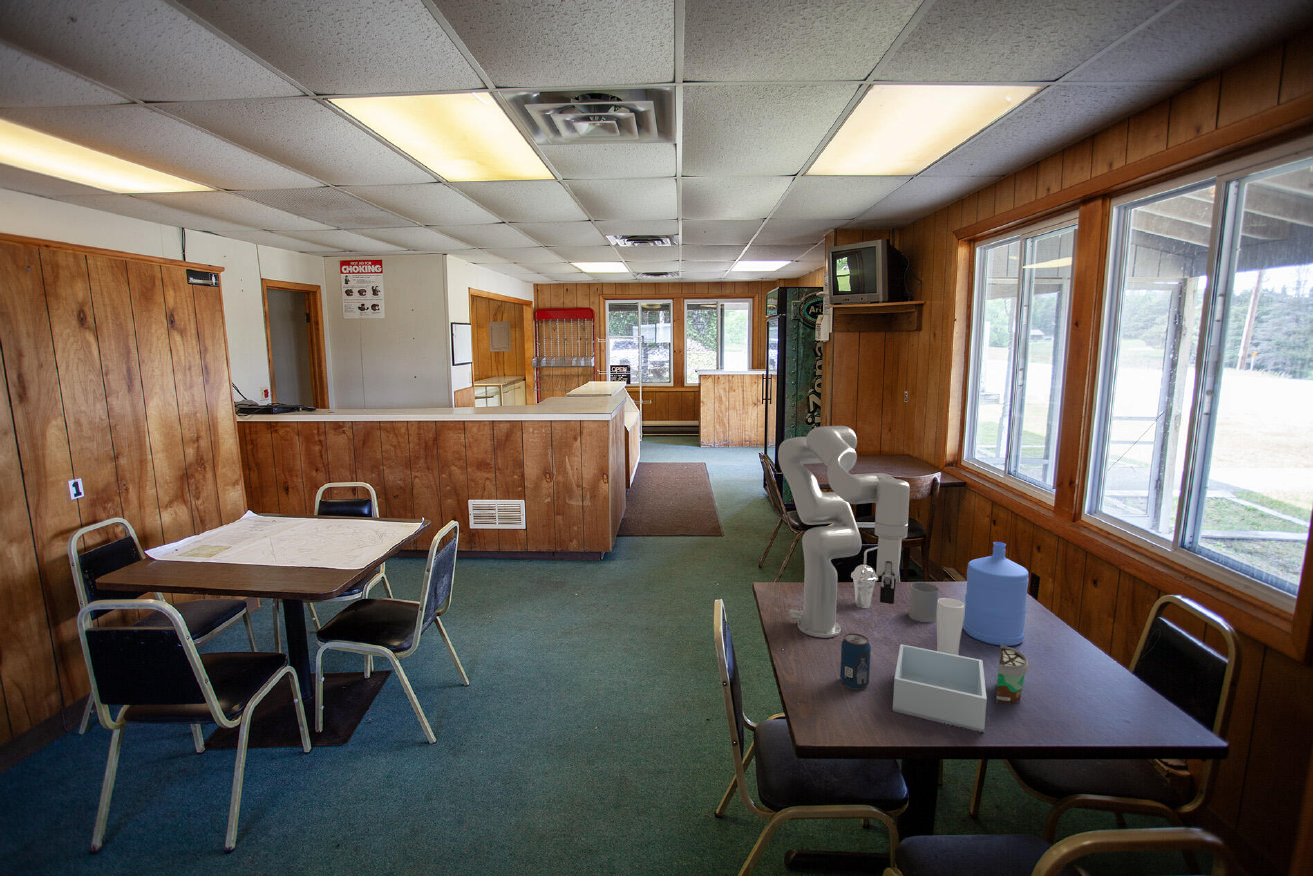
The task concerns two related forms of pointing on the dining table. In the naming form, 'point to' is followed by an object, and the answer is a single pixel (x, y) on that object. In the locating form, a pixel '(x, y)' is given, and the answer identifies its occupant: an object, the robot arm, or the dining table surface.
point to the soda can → (855, 661)
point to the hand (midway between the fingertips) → (887, 595)
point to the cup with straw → (864, 583)
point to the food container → (1010, 675)
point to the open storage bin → (940, 687)
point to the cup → (923, 601)
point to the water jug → (996, 599)
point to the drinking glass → (949, 625)
